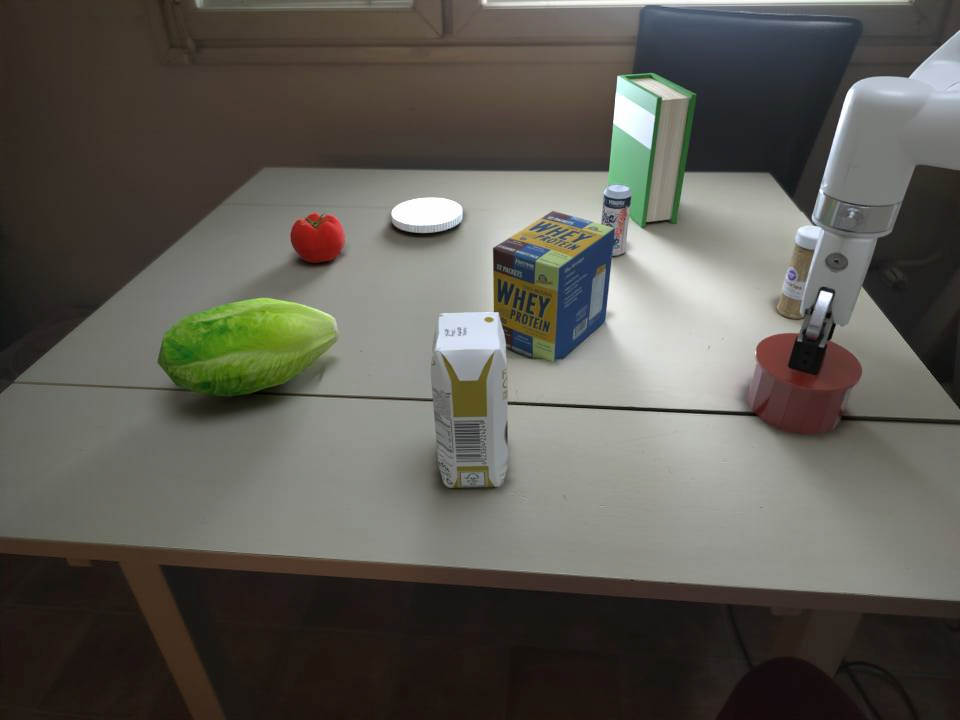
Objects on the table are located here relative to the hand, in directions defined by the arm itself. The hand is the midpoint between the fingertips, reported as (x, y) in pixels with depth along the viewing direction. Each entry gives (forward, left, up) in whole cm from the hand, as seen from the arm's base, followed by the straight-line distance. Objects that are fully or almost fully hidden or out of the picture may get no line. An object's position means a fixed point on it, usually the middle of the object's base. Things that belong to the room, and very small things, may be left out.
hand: (810, 352), depth 78 cm
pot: (0, 0, -9) cm, 9 cm away
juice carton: (+39, +11, -9) cm, 42 cm away
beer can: (+17, -45, -9) cm, 49 cm away
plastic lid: (+52, -58, -9) cm, 78 cm away
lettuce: (+69, -5, -9) cm, 70 cm away
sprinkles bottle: (-8, -24, -9) cm, 27 cm away
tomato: (+70, -43, -9) cm, 83 cm away
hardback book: (+9, -65, -9) cm, 66 cm away
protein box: (+29, -18, -9) cm, 35 cm away
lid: (0, 0, -2) cm, 2 cm away
